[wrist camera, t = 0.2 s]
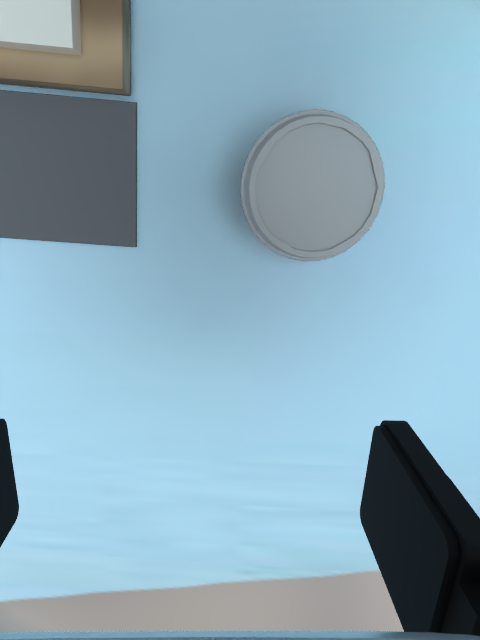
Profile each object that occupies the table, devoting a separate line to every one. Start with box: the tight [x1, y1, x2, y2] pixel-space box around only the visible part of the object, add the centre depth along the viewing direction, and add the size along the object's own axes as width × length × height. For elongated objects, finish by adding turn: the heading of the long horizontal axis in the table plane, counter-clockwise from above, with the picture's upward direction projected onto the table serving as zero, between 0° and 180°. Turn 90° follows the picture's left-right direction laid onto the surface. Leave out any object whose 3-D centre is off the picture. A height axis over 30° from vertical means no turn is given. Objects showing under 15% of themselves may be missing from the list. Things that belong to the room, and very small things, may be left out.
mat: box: [0, 90, 137, 247], centre depth 37 cm, size 12×13×1 cm
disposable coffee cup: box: [241, 110, 385, 261], centre depth 33 cm, size 10×10×12 cm
